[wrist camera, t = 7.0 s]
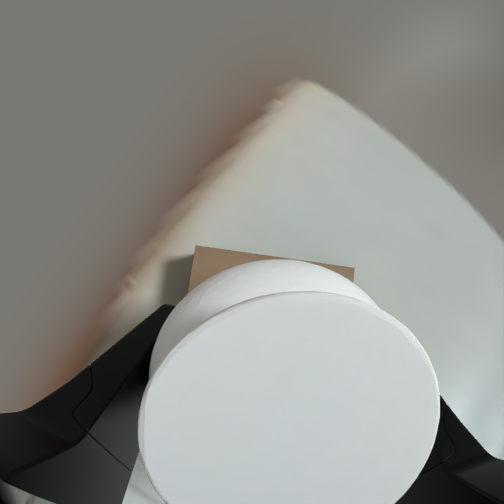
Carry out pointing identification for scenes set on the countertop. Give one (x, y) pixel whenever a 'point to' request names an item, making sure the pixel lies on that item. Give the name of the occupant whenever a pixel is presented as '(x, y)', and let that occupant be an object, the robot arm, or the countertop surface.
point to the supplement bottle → (285, 393)
